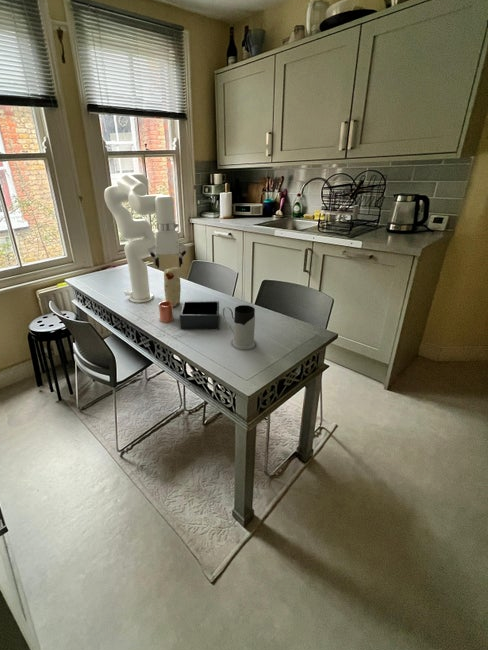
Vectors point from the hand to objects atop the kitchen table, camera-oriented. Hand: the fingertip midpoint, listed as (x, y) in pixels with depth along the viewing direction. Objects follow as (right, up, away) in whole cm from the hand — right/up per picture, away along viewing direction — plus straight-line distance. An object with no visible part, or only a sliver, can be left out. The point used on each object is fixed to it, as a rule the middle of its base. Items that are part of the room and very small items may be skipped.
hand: (169, 266), depth 138 cm
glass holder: (+28, -32, -12) cm, 44 cm away
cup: (-2, -24, +9) cm, 25 cm away
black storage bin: (+14, -24, +6) cm, 29 cm away
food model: (+1, -17, +24) cm, 29 cm away
